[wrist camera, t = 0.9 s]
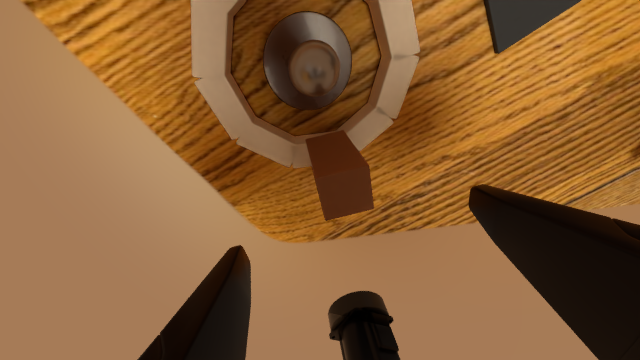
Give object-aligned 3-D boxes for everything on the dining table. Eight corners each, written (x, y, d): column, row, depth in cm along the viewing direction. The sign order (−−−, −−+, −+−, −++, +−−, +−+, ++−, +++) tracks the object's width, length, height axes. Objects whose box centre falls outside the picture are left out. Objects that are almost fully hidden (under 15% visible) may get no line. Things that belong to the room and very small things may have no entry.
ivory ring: (339, 182, 18) (365, 244, 13) (168, 101, 14) (91, 140, 8) (446, 27, 14) (556, 15, 8) (249, -154, 10) (205, -419, 4)
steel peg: (322, 122, 16) (335, 147, 12) (249, 81, 14) (237, 95, 10) (366, 47, 14) (398, 48, 10) (289, -11, 12) (292, -35, 8)
